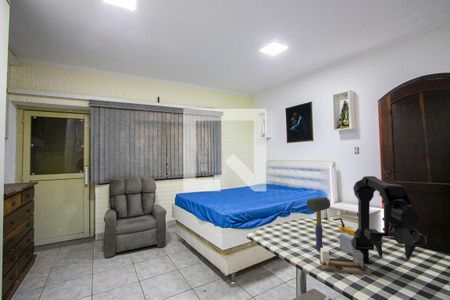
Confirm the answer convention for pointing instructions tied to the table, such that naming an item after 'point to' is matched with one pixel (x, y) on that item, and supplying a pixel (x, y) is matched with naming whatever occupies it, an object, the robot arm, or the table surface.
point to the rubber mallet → (318, 216)
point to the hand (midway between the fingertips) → (394, 258)
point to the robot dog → (345, 228)
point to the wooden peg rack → (347, 264)
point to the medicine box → (346, 242)
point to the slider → (324, 255)
